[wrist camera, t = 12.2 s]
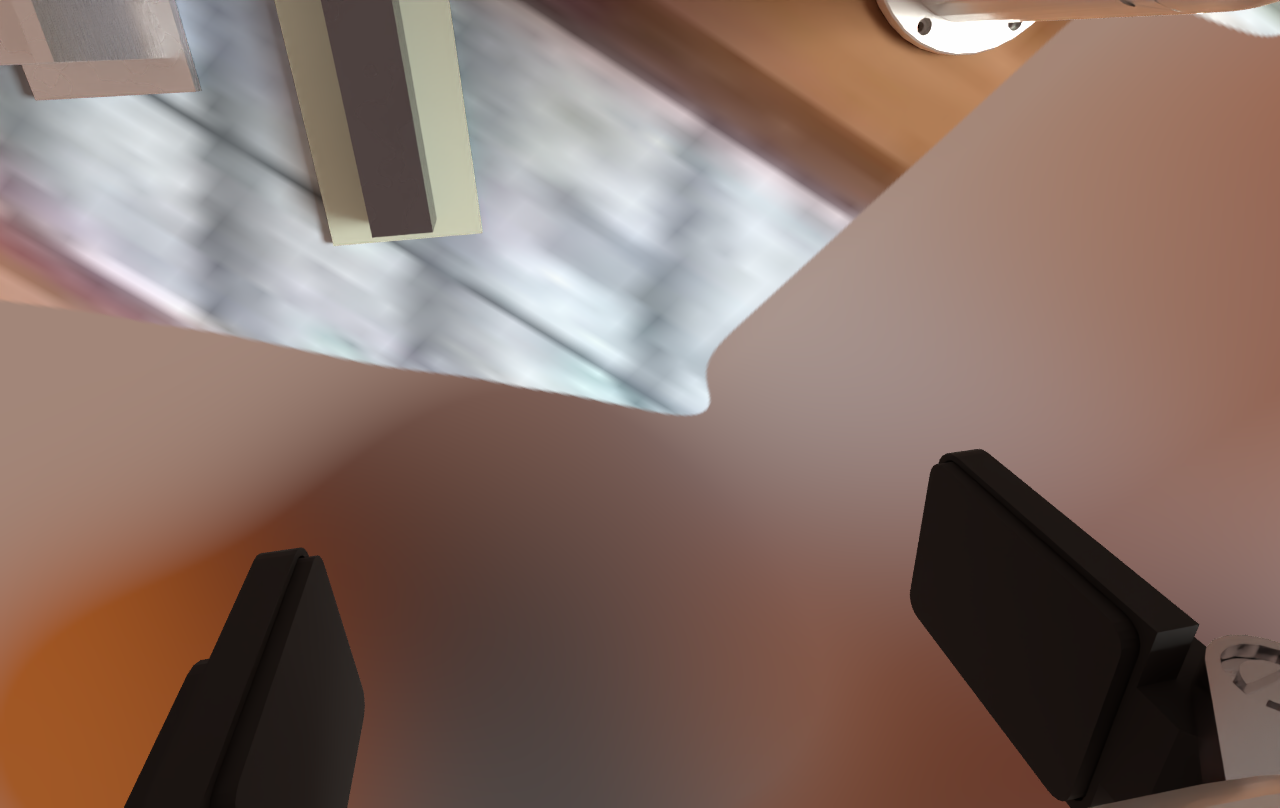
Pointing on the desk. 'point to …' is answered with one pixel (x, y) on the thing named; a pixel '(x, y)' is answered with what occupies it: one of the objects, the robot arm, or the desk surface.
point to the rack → (97, 47)
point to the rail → (381, 114)
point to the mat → (436, 107)
